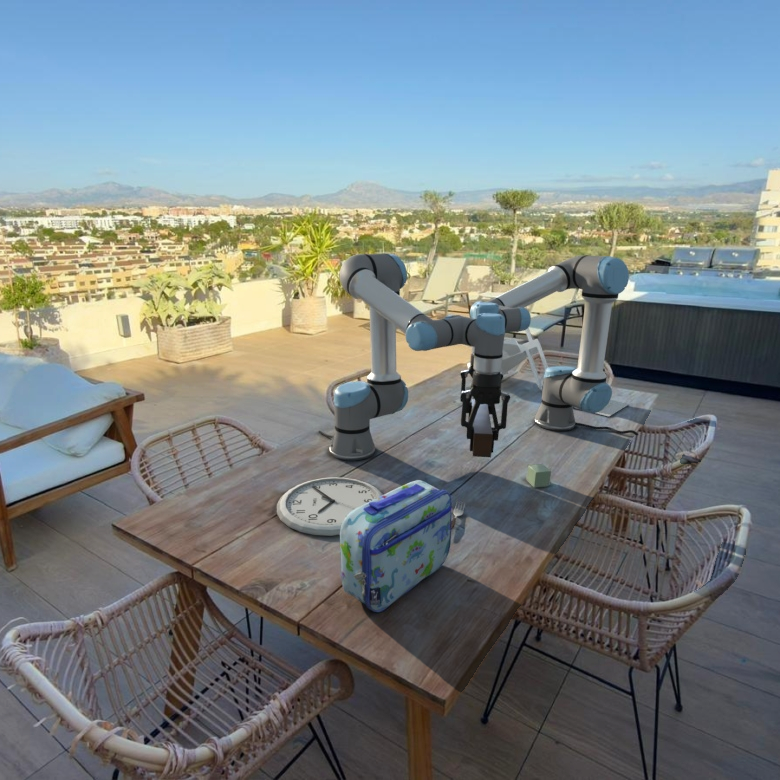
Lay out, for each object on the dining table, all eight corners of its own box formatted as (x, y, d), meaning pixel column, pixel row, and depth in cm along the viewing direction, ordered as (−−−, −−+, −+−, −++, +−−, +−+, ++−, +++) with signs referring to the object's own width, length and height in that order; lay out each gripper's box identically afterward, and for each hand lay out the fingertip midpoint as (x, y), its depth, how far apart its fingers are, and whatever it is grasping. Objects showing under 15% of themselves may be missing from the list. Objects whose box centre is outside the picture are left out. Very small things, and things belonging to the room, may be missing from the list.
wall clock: (392, 527, 129) (268, 531, 127) (391, 533, 130) (269, 537, 127) (383, 473, 158) (282, 475, 155) (383, 478, 158) (282, 480, 156)
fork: (441, 537, 129) (441, 530, 128) (456, 506, 143) (456, 499, 142) (451, 539, 128) (452, 532, 127) (465, 508, 142) (466, 501, 142)
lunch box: (369, 626, 100) (370, 530, 93) (334, 598, 107) (332, 507, 101) (455, 567, 117) (460, 483, 111) (419, 547, 124) (423, 467, 118)
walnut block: (470, 418, 174) (471, 398, 172) (485, 419, 174) (486, 399, 171) (472, 456, 146) (474, 433, 144) (490, 457, 145) (492, 434, 143)
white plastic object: (488, 419, 265) (468, 396, 240) (469, 347, 287) (449, 319, 262) (559, 395, 253) (546, 369, 228) (534, 321, 275) (519, 290, 250)
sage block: (541, 478, 160) (542, 463, 159) (549, 486, 156) (551, 470, 154) (526, 480, 159) (527, 465, 158) (534, 487, 155) (535, 472, 153)
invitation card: (608, 416, 214) (573, 407, 224) (608, 416, 214) (573, 408, 224) (628, 404, 229) (594, 396, 238) (628, 405, 229) (594, 397, 238)
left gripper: (519, 369, 145) (512, 446, 151) (453, 366, 146) (449, 442, 153) (522, 376, 137) (514, 457, 144) (453, 373, 139) (449, 453, 146)
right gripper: (511, 351, 165) (505, 420, 172) (454, 349, 167) (450, 417, 174) (513, 357, 158) (507, 428, 165) (453, 354, 160) (450, 425, 167)
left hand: (481, 449), depth 149 cm, fingers closed on walnut block, 5 cm apart
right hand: (478, 422), depth 170 cm, fingers closed on walnut block, 5 cm apart
